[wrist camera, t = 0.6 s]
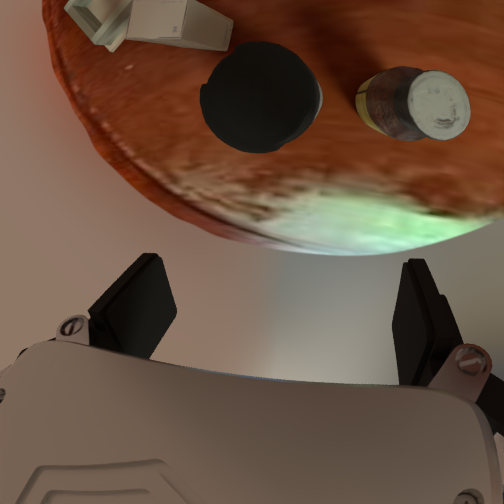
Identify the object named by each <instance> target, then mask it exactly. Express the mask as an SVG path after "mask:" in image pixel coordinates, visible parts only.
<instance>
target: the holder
mask: <svg viewBox="0 0 504 504" xmlns="http://www.w3.org/2000/svg"><path fill="white" fill-rule="evenodd" d="M133 1H134V0H69V1H68V3H67V4H66V5H65V7H64V9H65V10H66V12H67V13H68V14H69V15H70V16H71V17H72V19H73V20H74V21H75V22H76V23H77V24H78V26H79V27H80V28H81V29H82V30H83V31H84V33H85V34H86V35H87V36H88V37H89V38H90V40H91V41H92V42H93V43H94V44H95V45H105V46H106V48H107V49H108V50H109V51H110V52H114V51H115V50H116V48H117V47H118V46H119V45H120V44H121V43H122V41H123V40H124V39H125V35H126V30H127V24H128V20H129V15H130V11H131V7H132V3H133Z"/></svg>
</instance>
